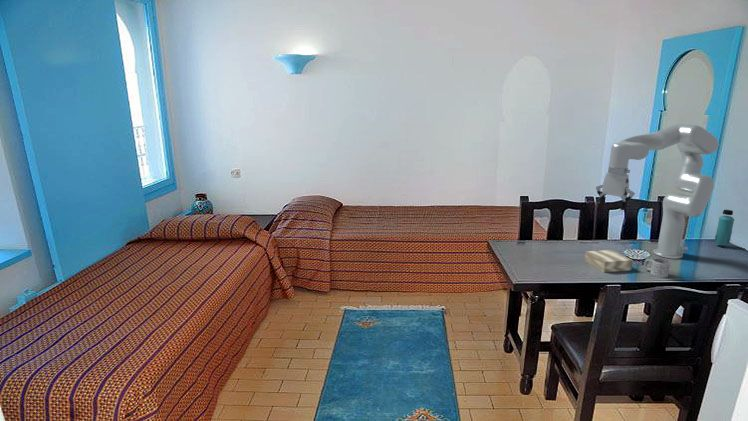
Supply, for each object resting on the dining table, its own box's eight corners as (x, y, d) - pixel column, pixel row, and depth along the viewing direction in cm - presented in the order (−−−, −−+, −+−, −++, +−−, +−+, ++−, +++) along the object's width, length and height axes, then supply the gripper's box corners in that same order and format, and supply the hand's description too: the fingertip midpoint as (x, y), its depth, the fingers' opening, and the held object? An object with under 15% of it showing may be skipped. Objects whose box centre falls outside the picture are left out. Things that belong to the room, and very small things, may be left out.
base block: (610, 259, 212) (611, 249, 211) (631, 270, 199) (632, 260, 198) (584, 261, 210) (585, 251, 209) (603, 272, 197) (605, 262, 196)
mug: (670, 275, 193) (673, 261, 192) (663, 278, 190) (665, 264, 188) (647, 268, 201) (649, 255, 200) (639, 271, 198) (641, 257, 196)
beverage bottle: (731, 248, 227) (740, 211, 222) (719, 248, 227) (727, 211, 222) (722, 244, 234) (730, 208, 228) (709, 244, 234) (717, 208, 229)
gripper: (641, 172, 191) (635, 210, 195) (603, 167, 205) (598, 202, 209) (632, 174, 187) (627, 212, 191) (594, 169, 201) (589, 204, 205)
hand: (612, 207), depth 200 cm, fingers open, 9 cm apart
